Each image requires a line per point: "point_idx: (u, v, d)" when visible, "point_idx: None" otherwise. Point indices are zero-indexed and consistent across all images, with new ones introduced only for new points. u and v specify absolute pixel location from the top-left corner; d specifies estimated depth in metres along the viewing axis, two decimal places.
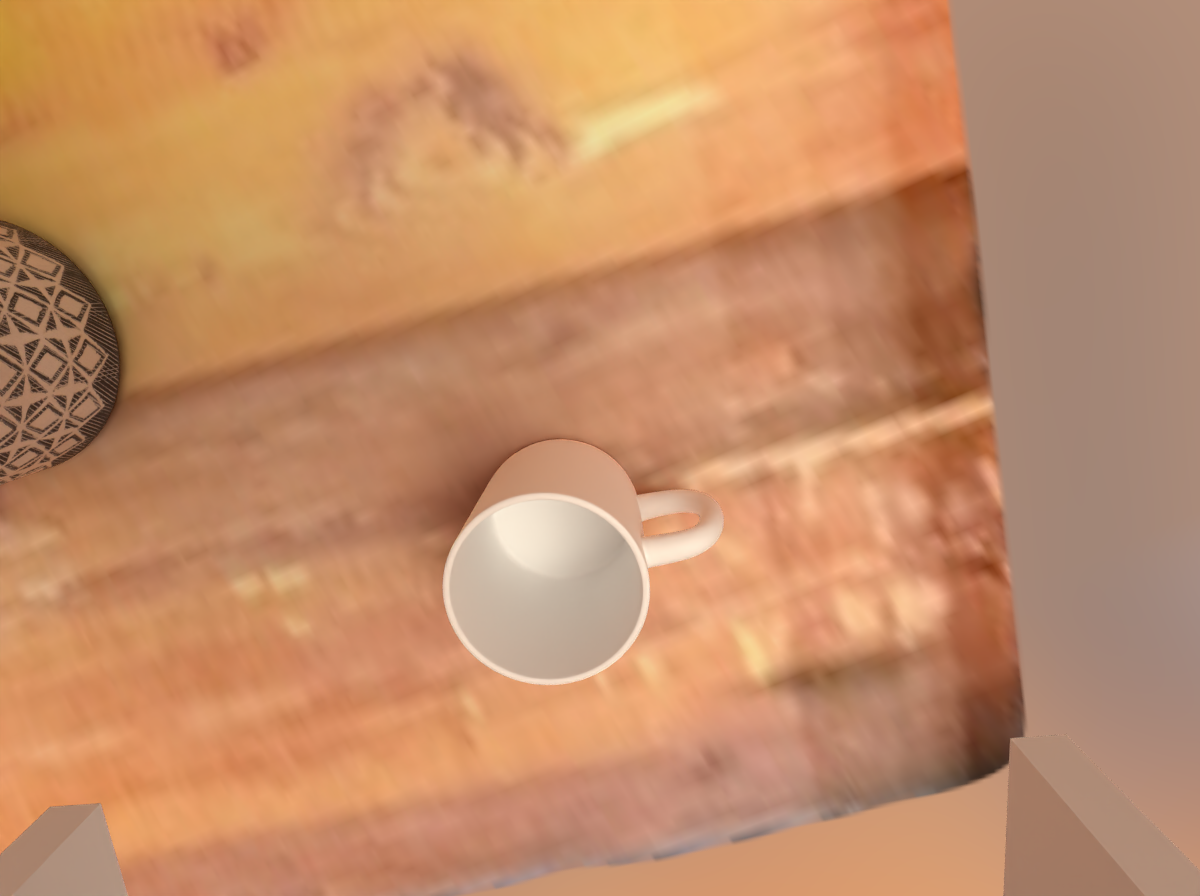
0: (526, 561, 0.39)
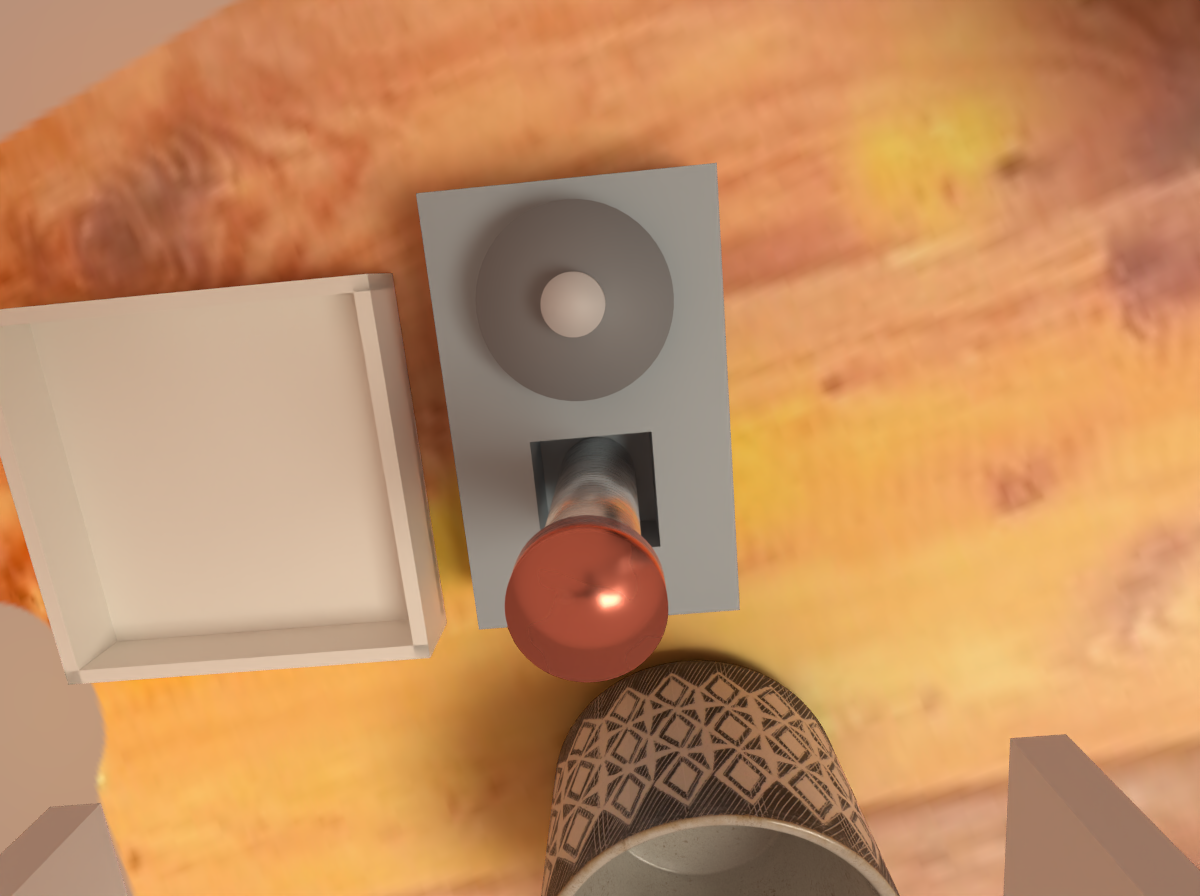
0: None
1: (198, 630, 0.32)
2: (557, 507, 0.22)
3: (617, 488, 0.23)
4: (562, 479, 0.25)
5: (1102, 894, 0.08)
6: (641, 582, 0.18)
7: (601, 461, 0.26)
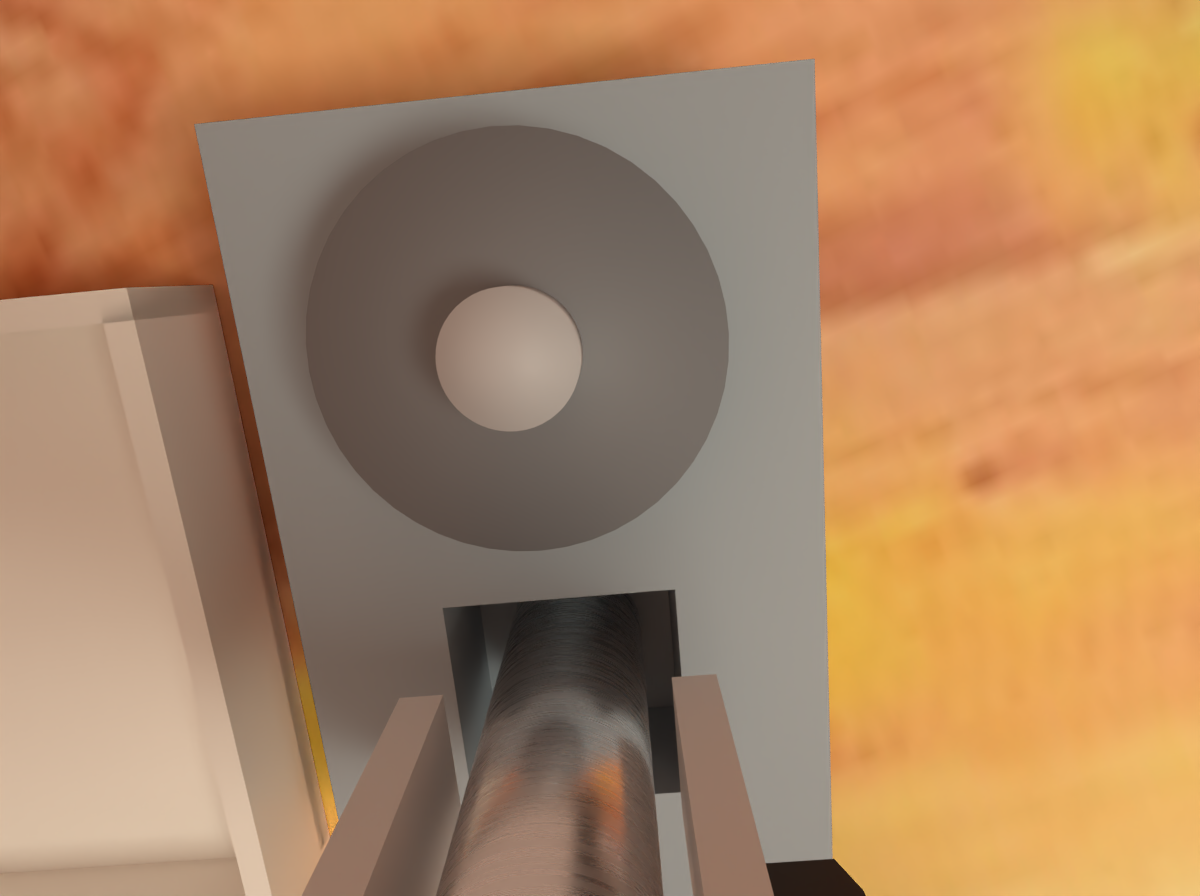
0: None
1: None
2: (469, 833, 0.09)
3: (609, 757, 0.11)
4: (500, 696, 0.13)
5: (685, 789, 0.10)
6: None
7: (579, 652, 0.13)
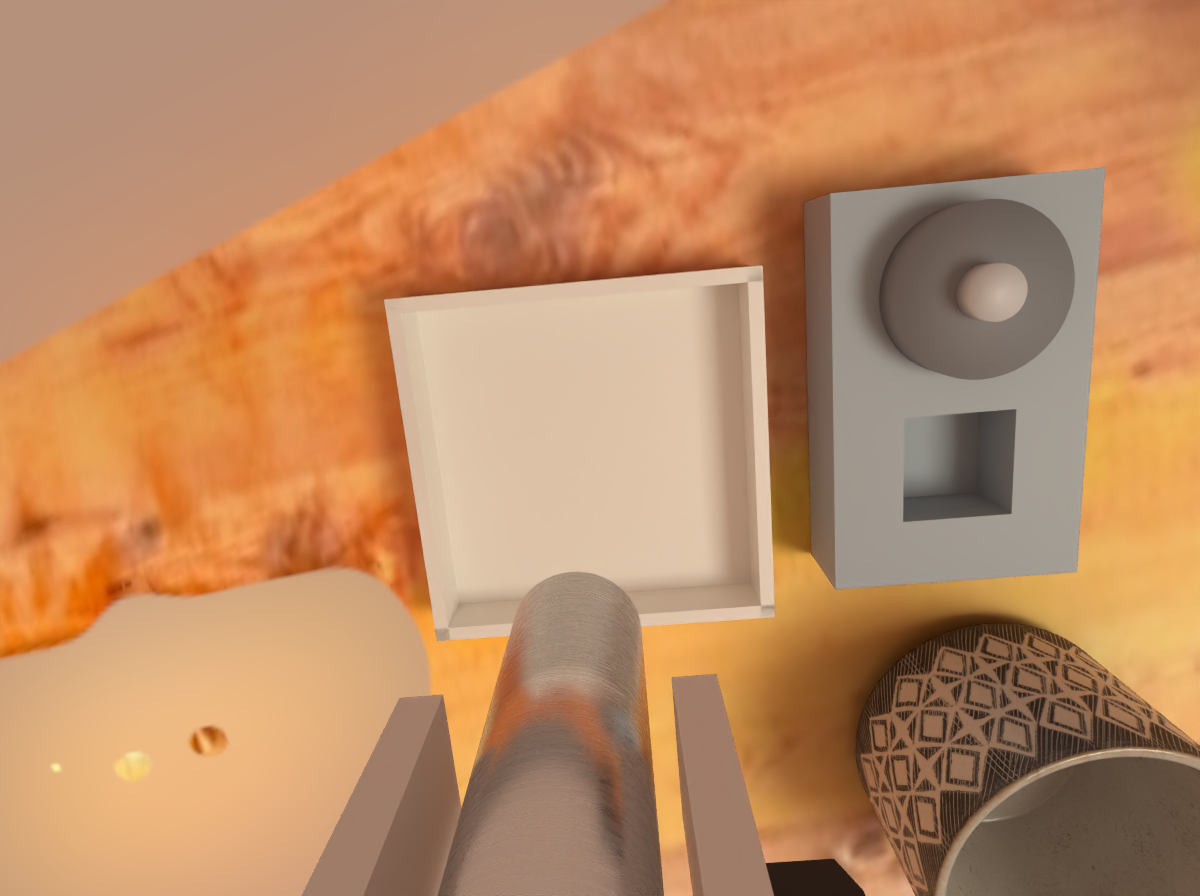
0: None
1: None
2: (469, 837, 0.09)
3: (609, 760, 0.11)
4: (500, 699, 0.13)
5: (685, 789, 0.10)
6: None
7: (579, 655, 0.13)
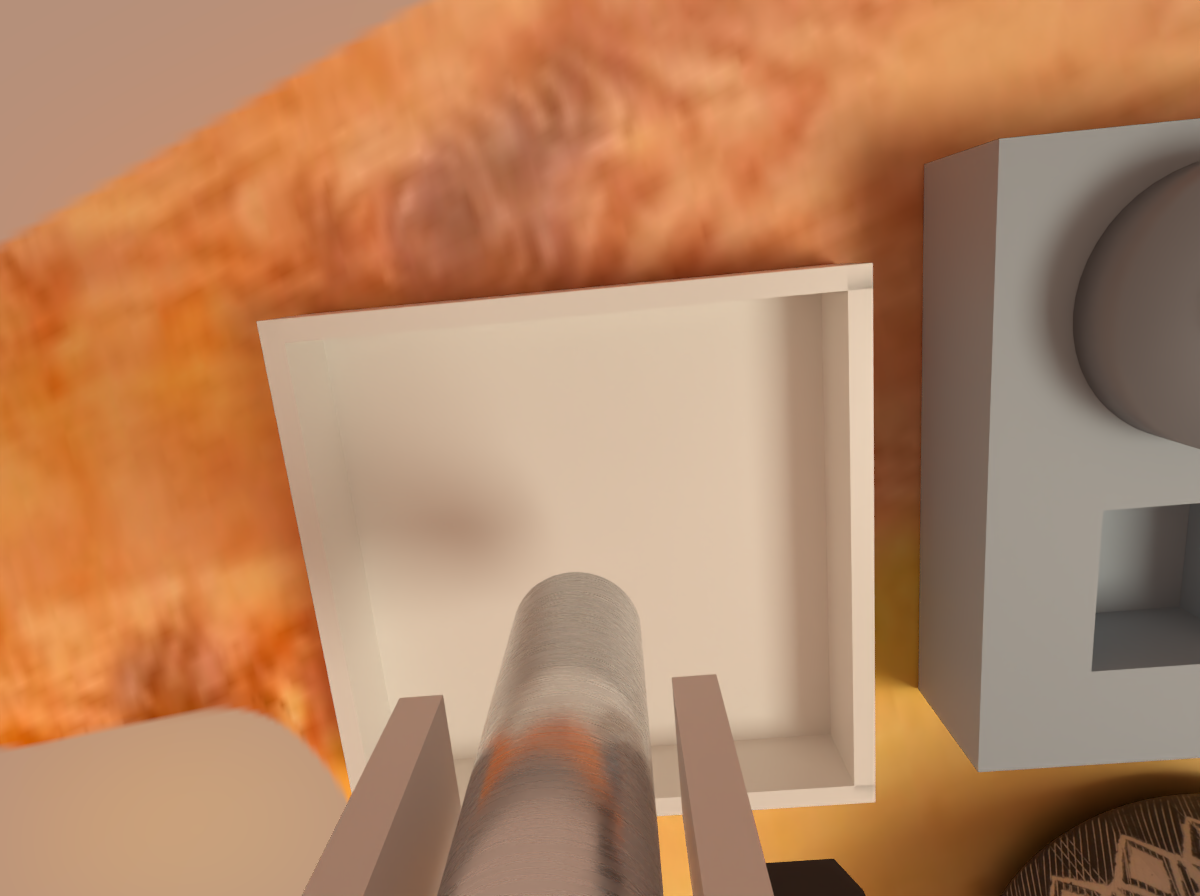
0: None
1: None
2: (469, 838, 0.09)
3: (609, 761, 0.11)
4: (500, 699, 0.13)
5: (685, 788, 0.10)
6: None
7: (579, 656, 0.13)
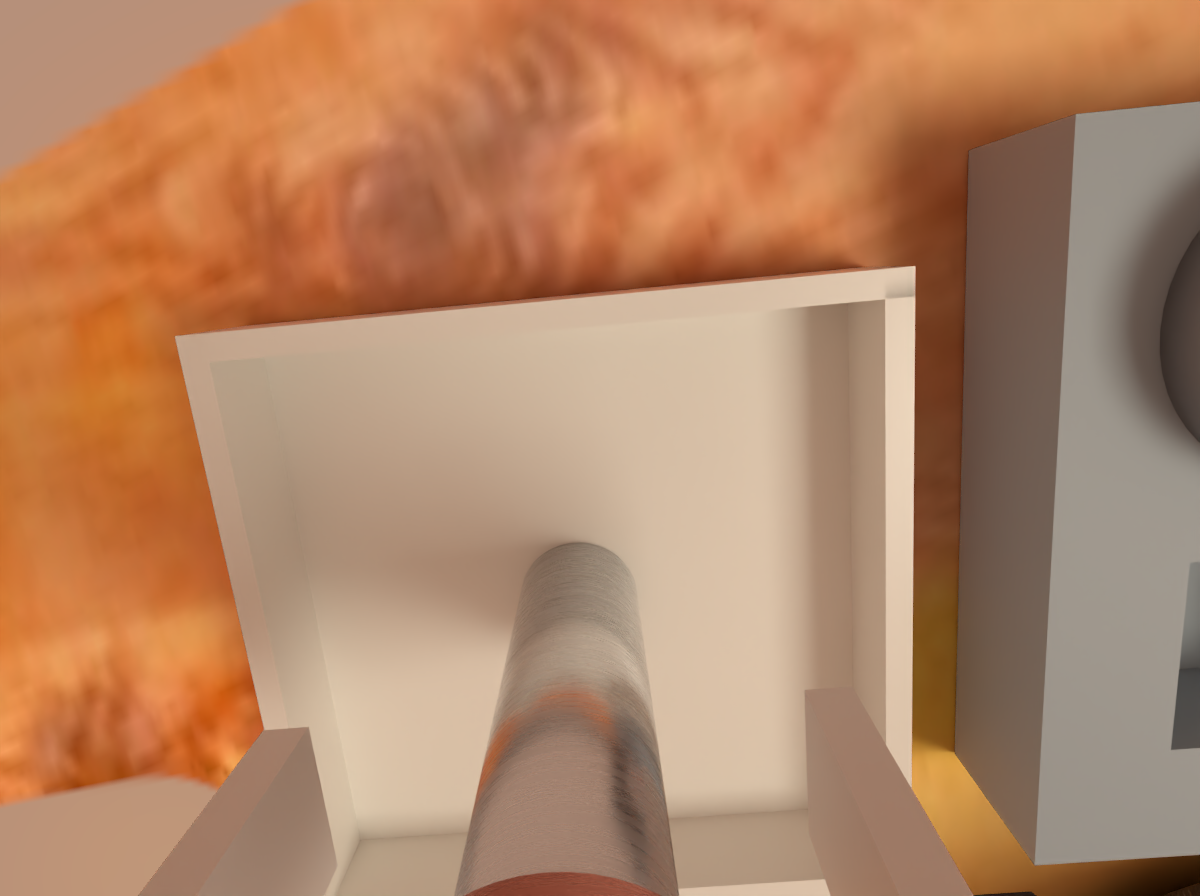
0: None
1: None
2: (502, 748, 0.11)
3: (617, 688, 0.12)
4: (518, 646, 0.14)
5: (843, 812, 0.10)
6: None
7: (586, 608, 0.15)
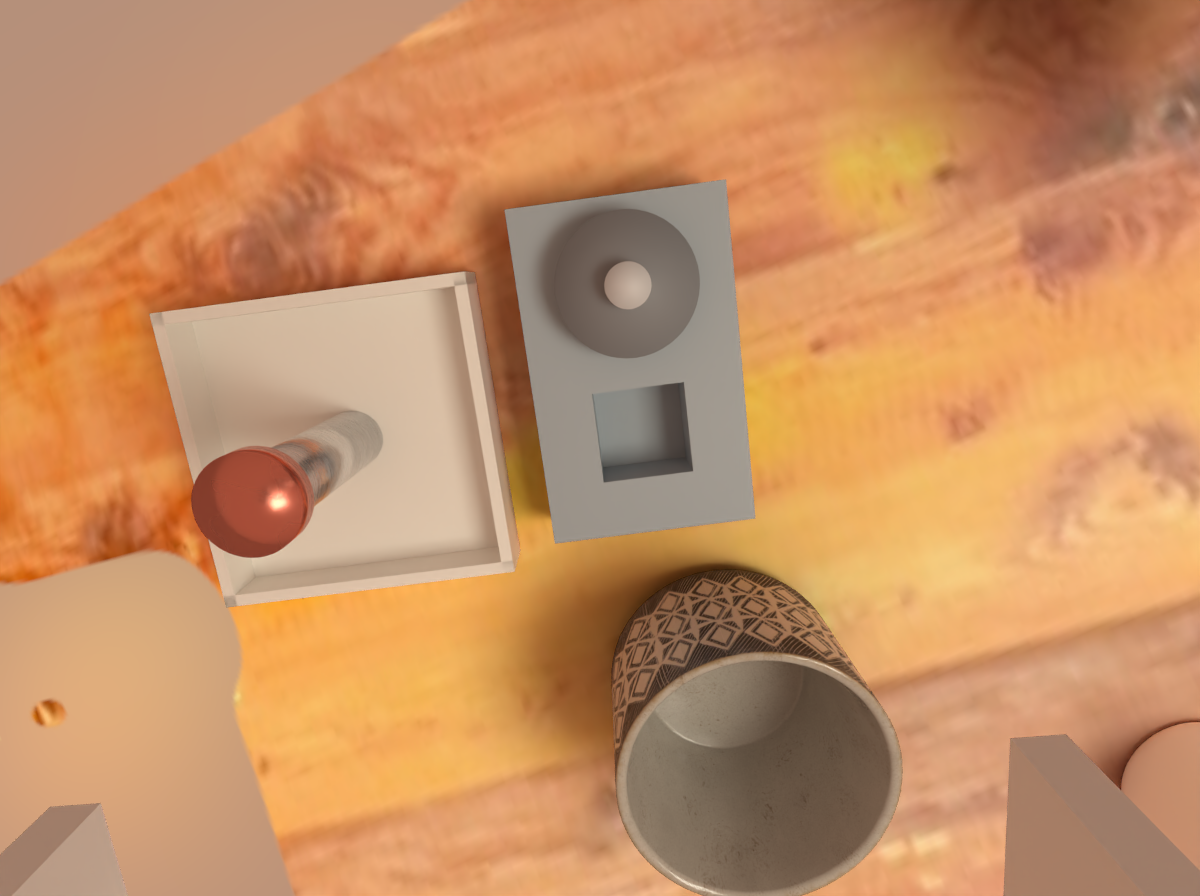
0: None
1: (321, 564, 0.40)
2: None
3: (321, 438, 0.32)
4: None
5: (1102, 894, 0.08)
6: (280, 485, 0.26)
7: (330, 423, 0.35)
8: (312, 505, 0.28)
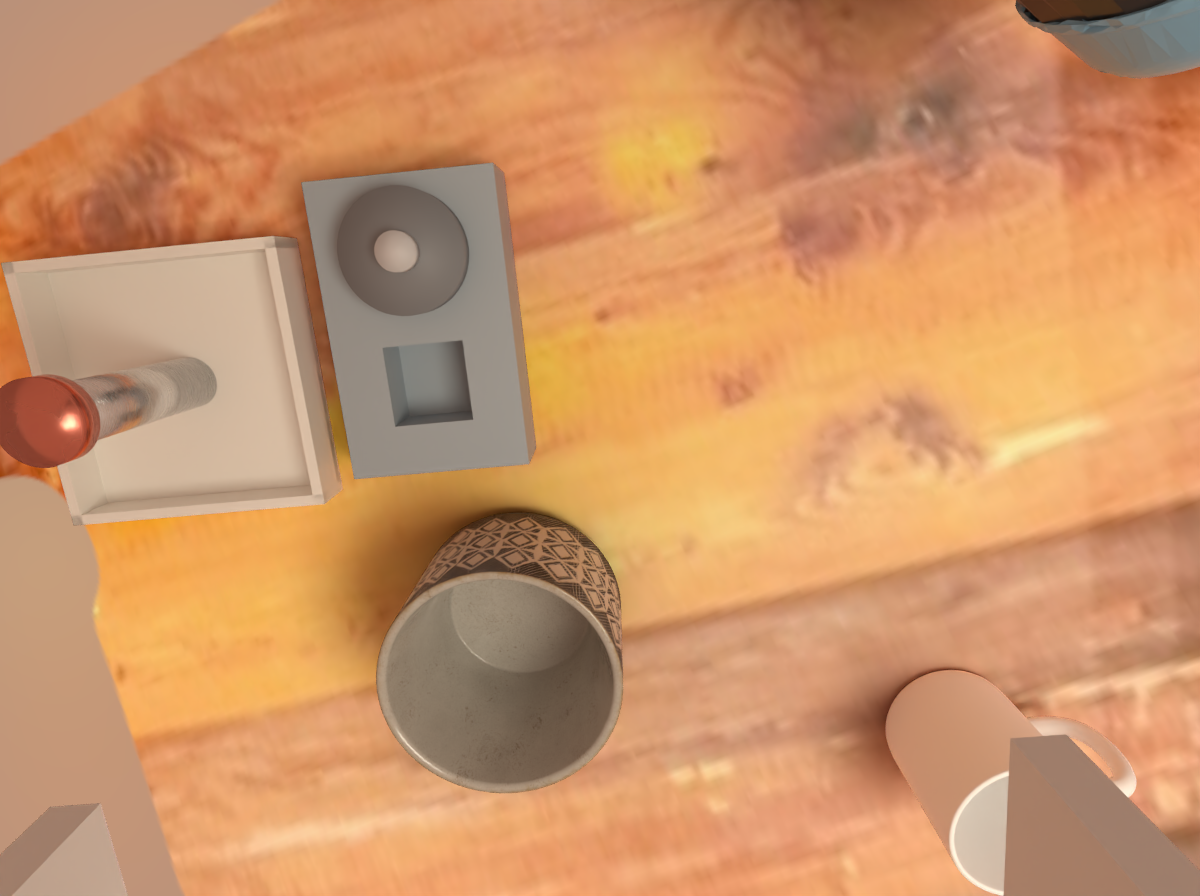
0: None
1: (165, 494, 0.45)
2: None
3: (133, 375, 0.37)
4: None
5: (1102, 894, 0.08)
6: (63, 407, 0.32)
7: (154, 365, 0.40)
8: (97, 427, 0.33)
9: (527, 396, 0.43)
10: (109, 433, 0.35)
